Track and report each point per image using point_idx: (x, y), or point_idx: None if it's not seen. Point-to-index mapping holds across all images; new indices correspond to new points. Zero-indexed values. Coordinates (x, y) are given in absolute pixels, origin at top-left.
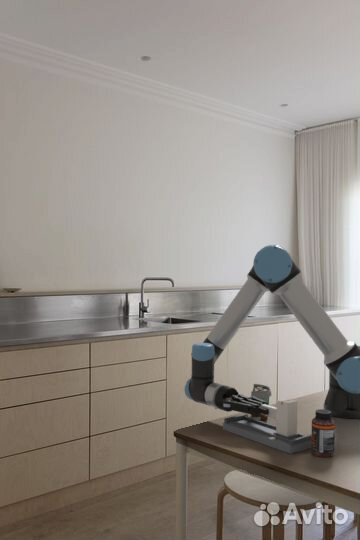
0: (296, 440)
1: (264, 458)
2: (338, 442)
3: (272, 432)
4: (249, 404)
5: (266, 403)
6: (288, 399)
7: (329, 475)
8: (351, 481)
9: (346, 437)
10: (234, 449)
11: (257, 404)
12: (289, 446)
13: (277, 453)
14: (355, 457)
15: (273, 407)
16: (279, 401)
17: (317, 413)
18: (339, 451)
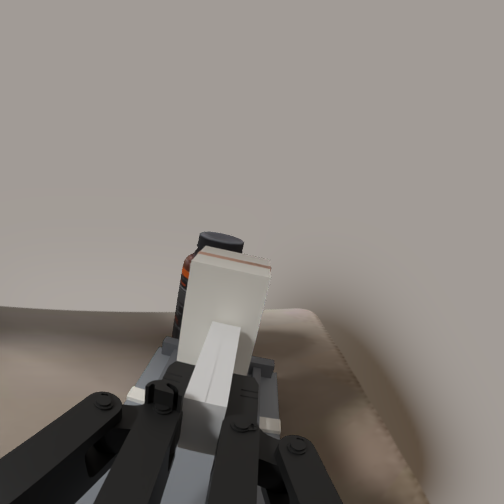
0: (251, 357)
1: (360, 414)
2: (85, 331)
3: (193, 454)
4: (288, 474)
5: (119, 403)
6: (207, 256)
7: (298, 327)
8: (287, 311)
9: (34, 319)
10: (407, 493)
11: (242, 424)
12: (276, 376)
13: (300, 412)
14: (172, 312)
15: (218, 345)
16: (270, 274)
17: (242, 246)
18: (155, 329)
